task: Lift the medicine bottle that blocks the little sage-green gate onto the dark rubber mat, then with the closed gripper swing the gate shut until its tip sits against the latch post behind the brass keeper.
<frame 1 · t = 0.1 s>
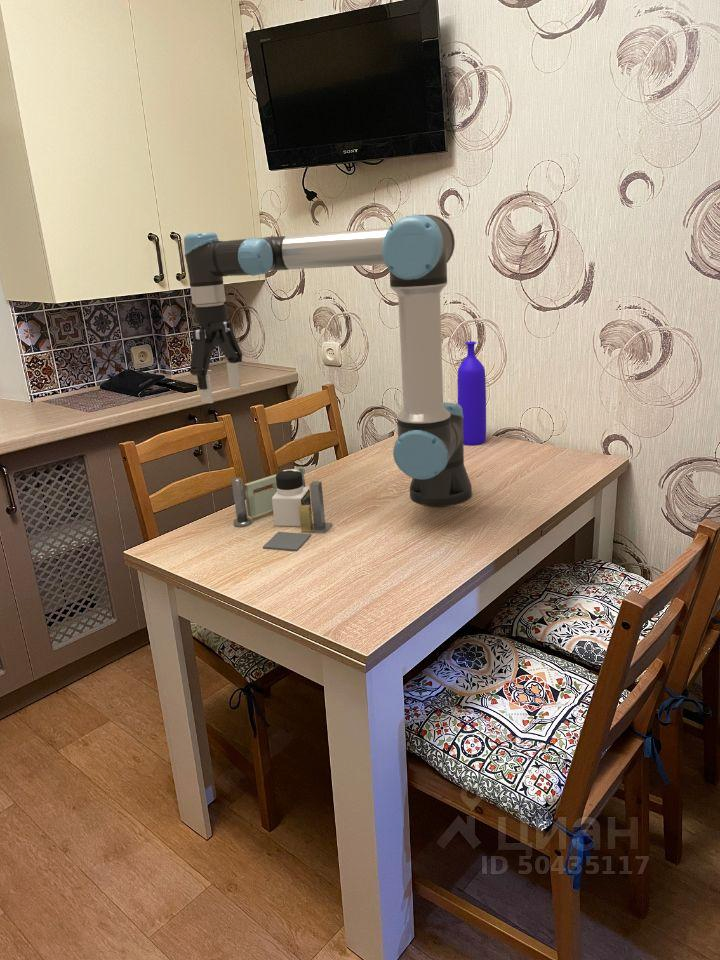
hand: (222, 395, 168), 28 cm above the table, fingers open, 13 cm apart
gate: (276, 491, 170), point 5 cm above the table, hinge at 58.0°
hinge post: (242, 523, 166), on the table
bottle: (472, 442, 214), on the table
latch post: (320, 528, 160), on the table
mat: (287, 541, 154), on the table
medicine bottle: (293, 521, 165), on the table
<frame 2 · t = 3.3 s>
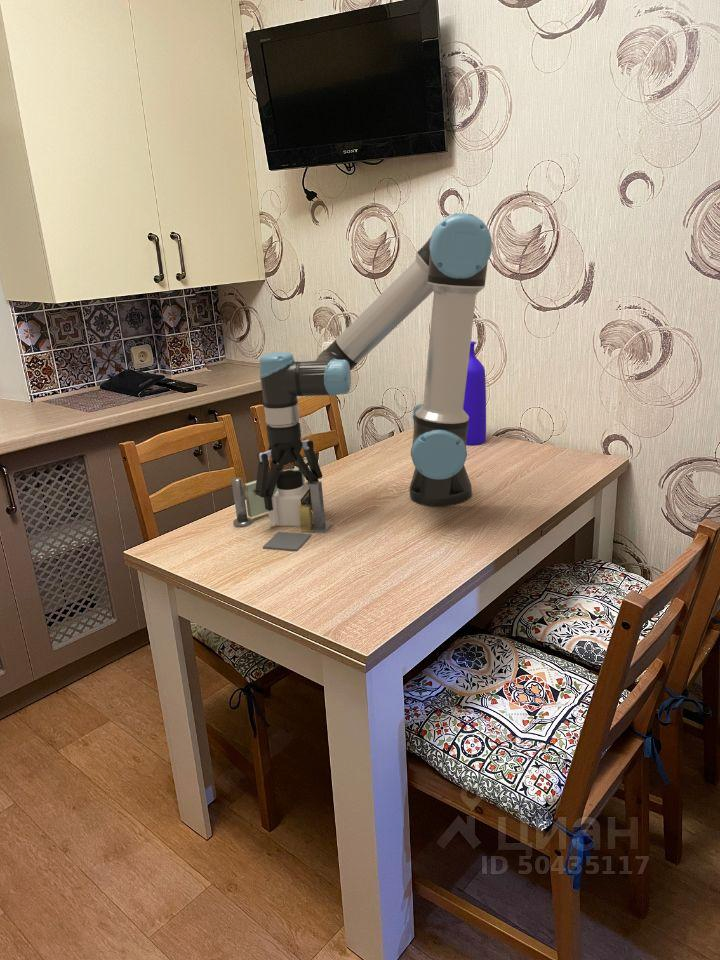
hand: (293, 515, 165), 1 cm above the table, fingers closed on medicine bottle, 10 cm apart
medicine bottle: (293, 521, 165), on the table, touching gripper
everything else where it was.
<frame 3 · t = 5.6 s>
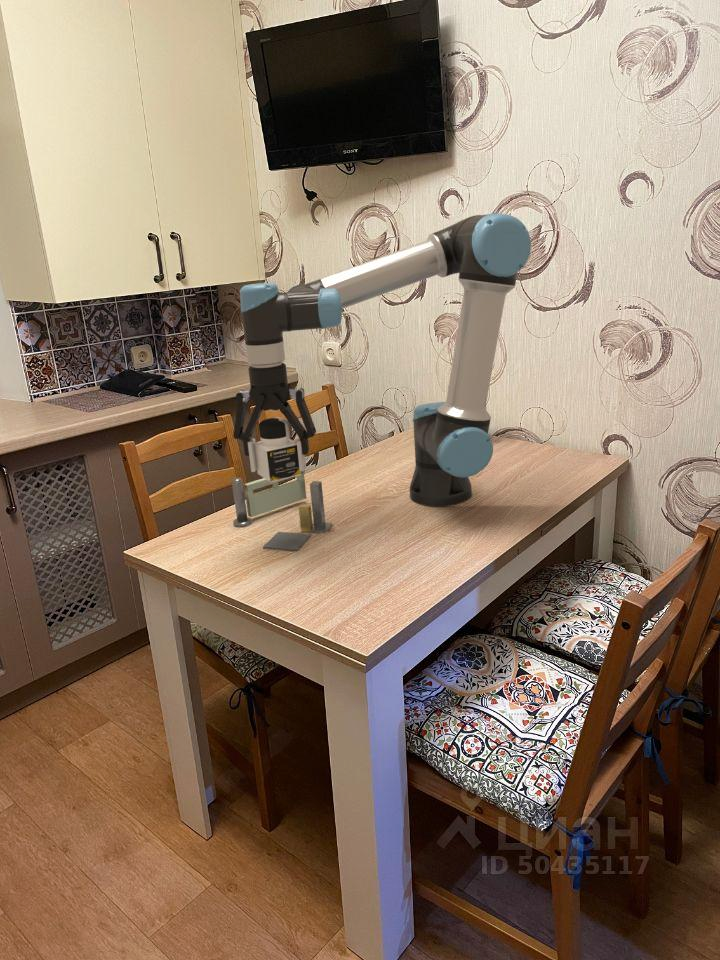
hand: (278, 469, 149), 17 cm above the table, fingers closed on medicine bottle, 10 cm apart
medicine bottle: (279, 475, 149), point 15 cm above the table, touching gripper
everything else where it was.
when the fingers open (3 cm above the table, at t = 8.2 s): medicine bottle drops 1 cm, resting on mat.
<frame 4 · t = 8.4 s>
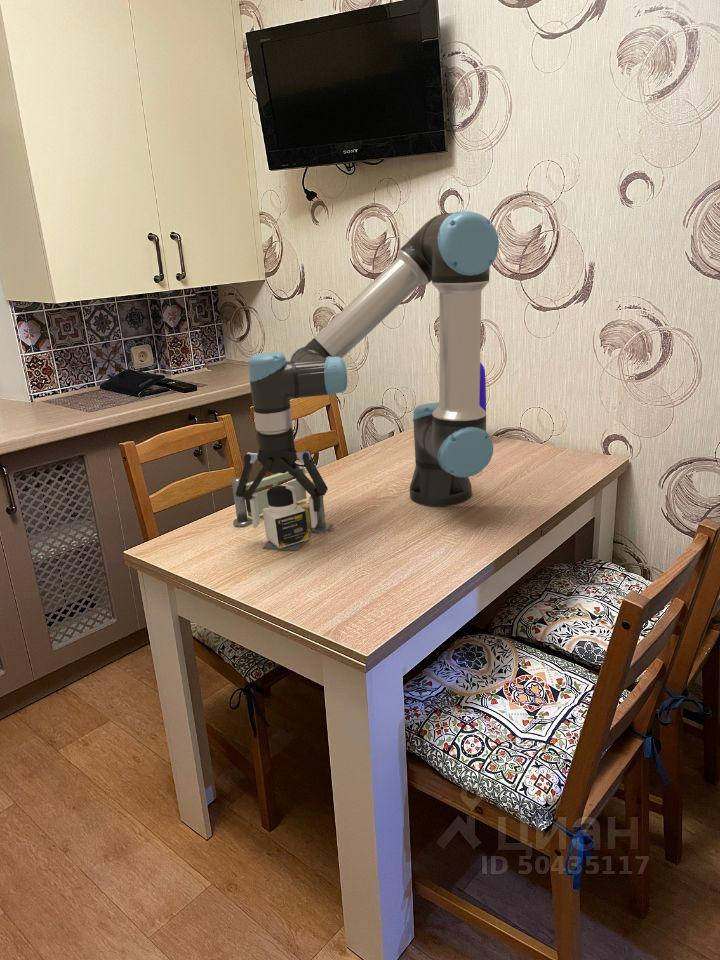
hand: (285, 525, 153), 4 cm above the table, fingers open, 12 cm apart
medicine bottle: (287, 540, 154), resting on mat
everything else where it was.
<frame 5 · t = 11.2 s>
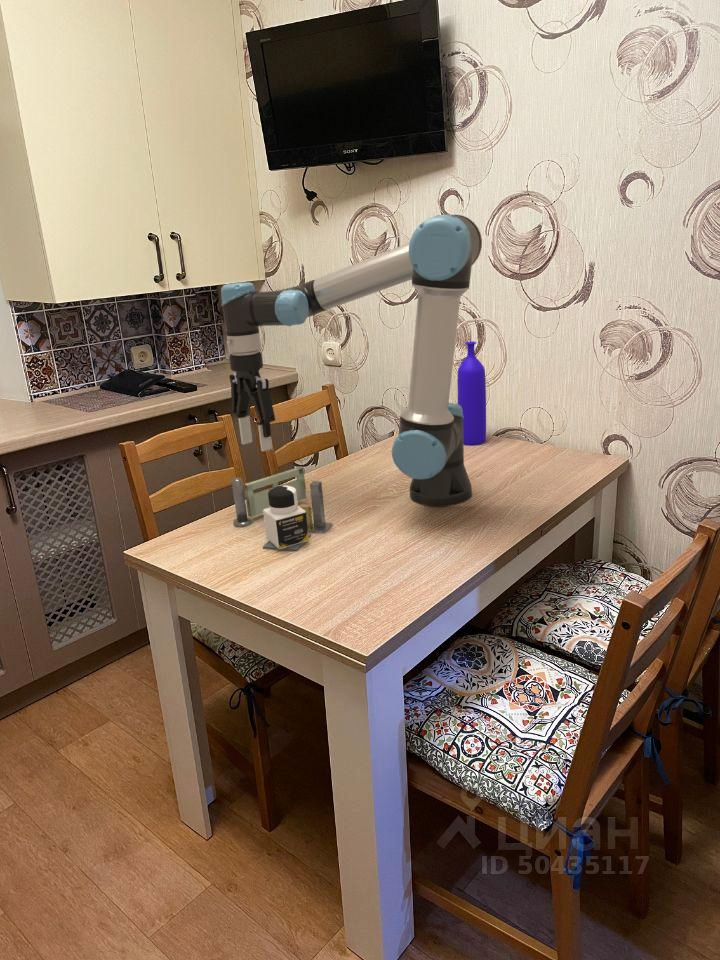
hand: (256, 446, 171), 15 cm above the table, fingers open, 8 cm apart
nothing on the table moved.
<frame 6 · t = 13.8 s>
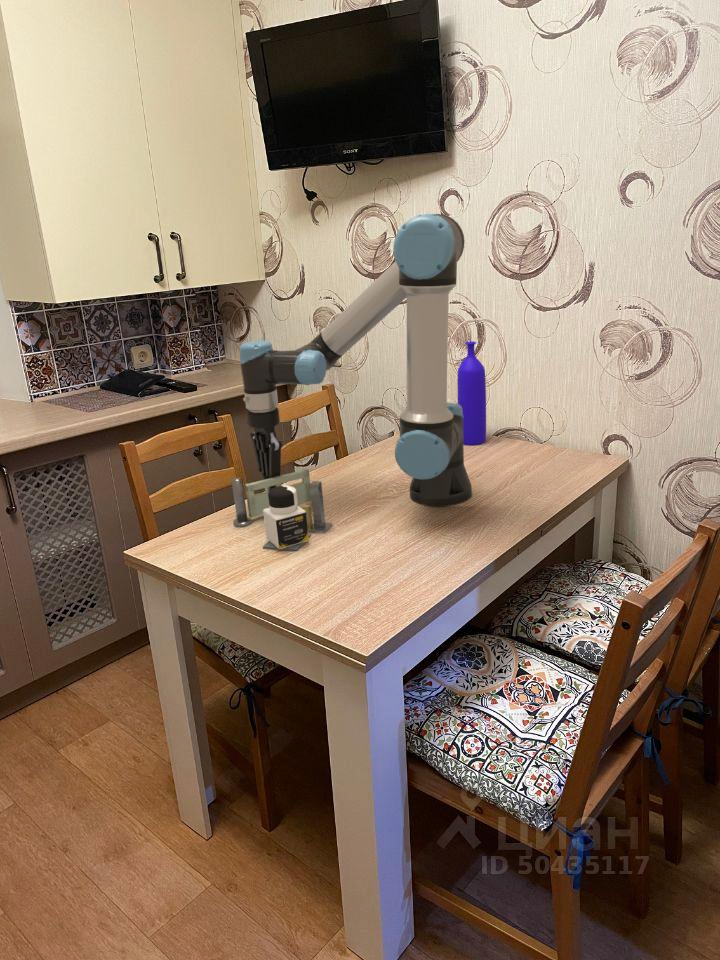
hand: (272, 501, 173), 2 cm above the table, fingers closed
gate: (279, 493, 169), point 5 cm above the table, hinge at 49.1°, touching hand
everything else where it was.
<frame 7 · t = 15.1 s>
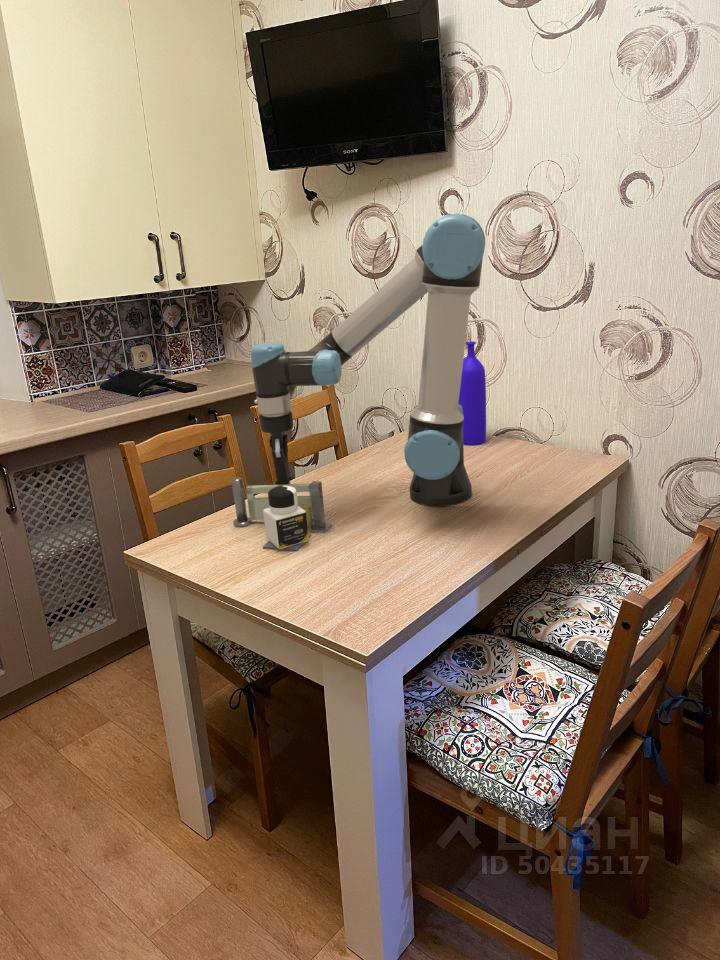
hand: (287, 508, 168), 2 cm above the table, fingers closed
gate: (282, 501, 163), point 5 cm above the table, hinge at 13.8°, touching gripper, hand
everything else where it was.
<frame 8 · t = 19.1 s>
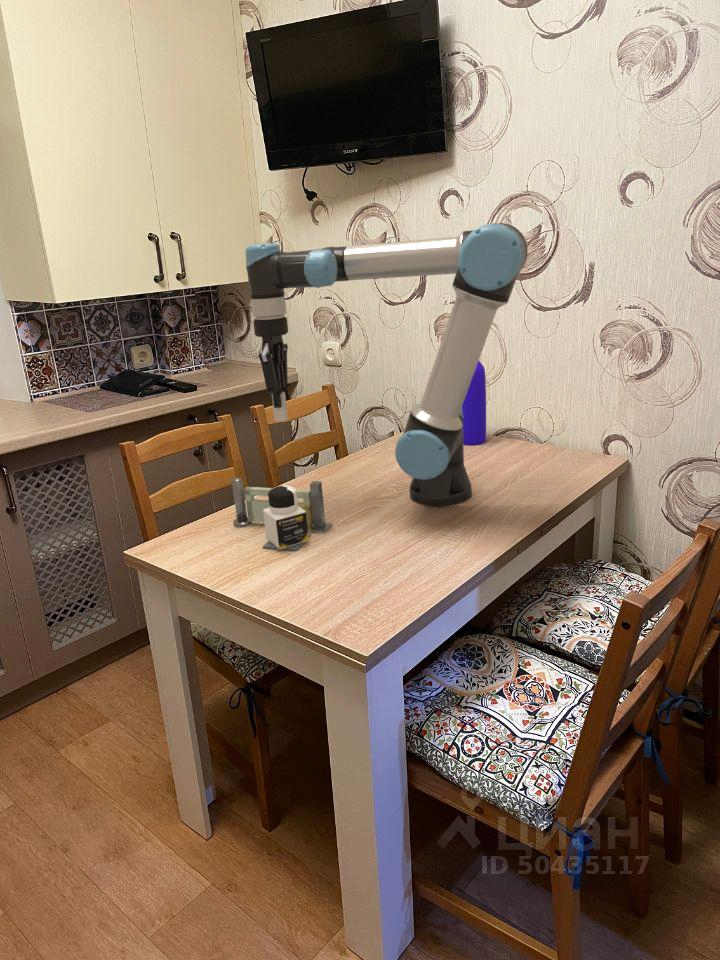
hand: (281, 419, 165), 22 cm above the table, fingers closed
gate: (279, 506, 161), point 5 cm above the table, hinge at -1.0°, touching latch post
everything else where it was.
at the end: gate at -1° (first picture: +58°); medicine bottle 0.1 cm from the mat (horizontally); medicine bottle tilted 0° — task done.
